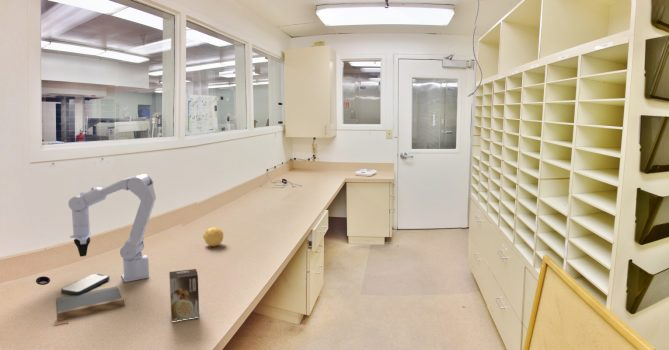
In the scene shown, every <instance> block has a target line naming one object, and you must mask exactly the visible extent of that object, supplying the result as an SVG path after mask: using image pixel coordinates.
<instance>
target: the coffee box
mask: <svg viewBox="0 0 669 350" xmlns="http://www.w3.org/2000/svg"><path fill="white" fill-rule="evenodd" d="M168 276H169V297H170V300H169V301H170V316H171V319H170V320H172V321H177V320H183V319H189V318H195V317H199V318H200V301H199V300H200V297H199V295H200V294H199V275H198V271H197V269H196V268H191V269H183V270H175V271H169V274H168ZM172 321H171V322H172Z"/></svg>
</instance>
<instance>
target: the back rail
mask: <svg viewBox="0 0 669 350" xmlns="http://www.w3.org/2000/svg"><path fill="white" fill-rule="evenodd" d="M125 300H126V299H125V297H122V298H120V299H115V300H110V301H106V302H101V303H96V304H91V305H87V306H82V307H77V308H73V309H68V310H63V311H59V312H57V321H58V322H59V321H62V320H67V319H72V318H77V317H81V316H85V315H90V314H94V313H98V312H103V311H107V310H111V309H116V308H121V307H124V306H126V304H125V303H126V302H125Z"/></svg>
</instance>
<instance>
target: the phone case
mask: <svg viewBox="0 0 669 350" xmlns="http://www.w3.org/2000/svg"><path fill="white" fill-rule="evenodd" d="M109 280H110V275H106V274H100V273H92V274H90V275H87V276H85V277H83V278H82V279H79V280H77V281H75V282H73V283H71V284H69V285H67V286H64V287H63V288H61V289H60V290H61V291H60V292H61V294H65V295H80V294H82V293H85V292H89V291H90V290H91V289H94V288H95V287H98V286H100V285H101V284H103V283H105V282H107V281H109Z"/></svg>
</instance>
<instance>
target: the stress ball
mask: <svg viewBox="0 0 669 350" xmlns="http://www.w3.org/2000/svg"><path fill="white" fill-rule="evenodd" d="M203 240H204V242H205V244H206V245H208V246H210V247H212V248H213V247H217V246H219V245H220V244H221V243H222V242H223V240H224V233H223V231H222V229H220V228H218V227H215V226H213V227H210V228H208V229H207V230H205V232H204V233H203Z"/></svg>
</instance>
